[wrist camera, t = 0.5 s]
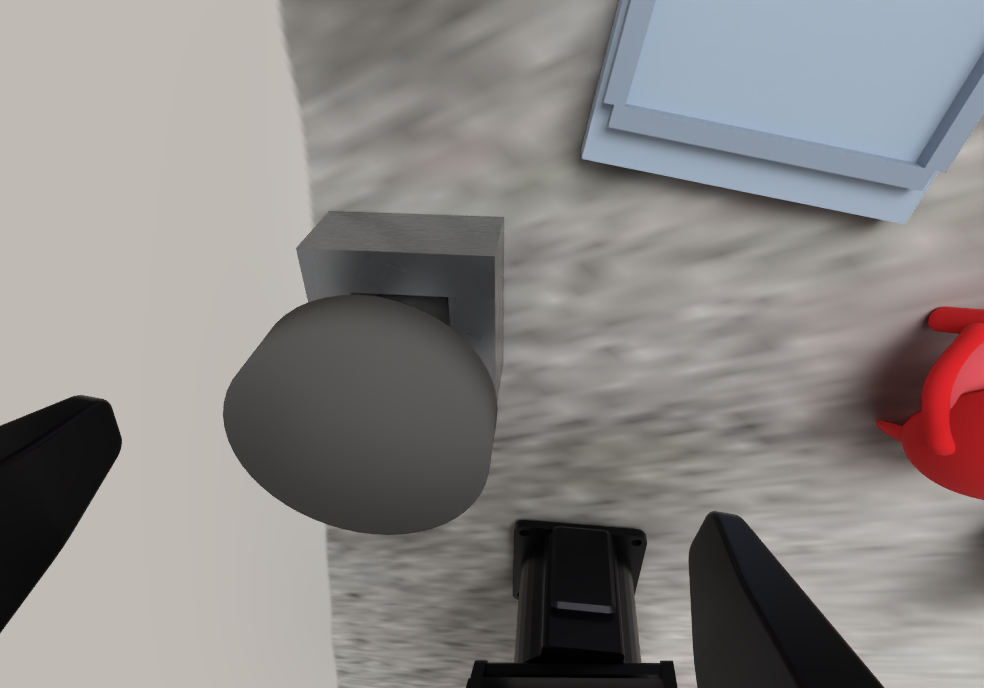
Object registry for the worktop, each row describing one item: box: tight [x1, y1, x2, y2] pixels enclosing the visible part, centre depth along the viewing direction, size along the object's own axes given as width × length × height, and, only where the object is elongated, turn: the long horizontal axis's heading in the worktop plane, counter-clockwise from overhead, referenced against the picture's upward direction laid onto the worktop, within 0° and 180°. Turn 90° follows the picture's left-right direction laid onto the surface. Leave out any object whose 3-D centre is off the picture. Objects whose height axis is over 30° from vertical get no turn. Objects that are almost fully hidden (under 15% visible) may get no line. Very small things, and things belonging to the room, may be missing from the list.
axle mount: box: [296, 211, 504, 399], centre depth 20 cm, size 6×6×3 cm
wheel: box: [223, 295, 497, 535], centre depth 17 cm, size 7×7×5 cm
